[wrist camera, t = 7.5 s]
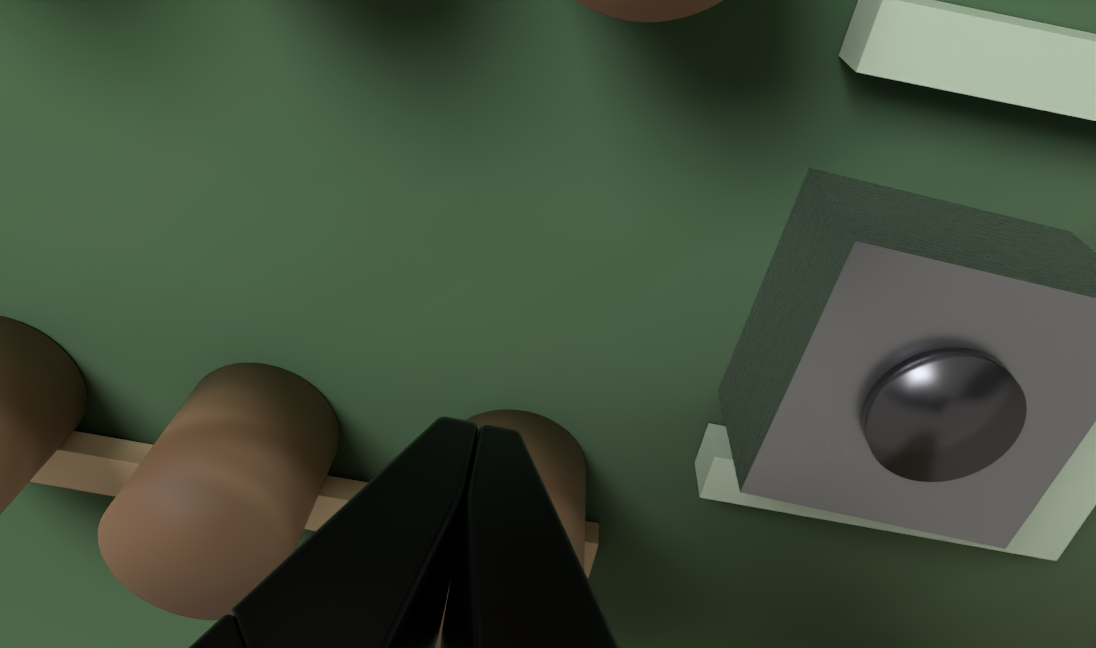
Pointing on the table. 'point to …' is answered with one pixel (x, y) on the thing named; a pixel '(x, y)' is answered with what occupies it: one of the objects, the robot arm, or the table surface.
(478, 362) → the table surface
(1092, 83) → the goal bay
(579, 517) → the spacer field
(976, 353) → the grey knob block
